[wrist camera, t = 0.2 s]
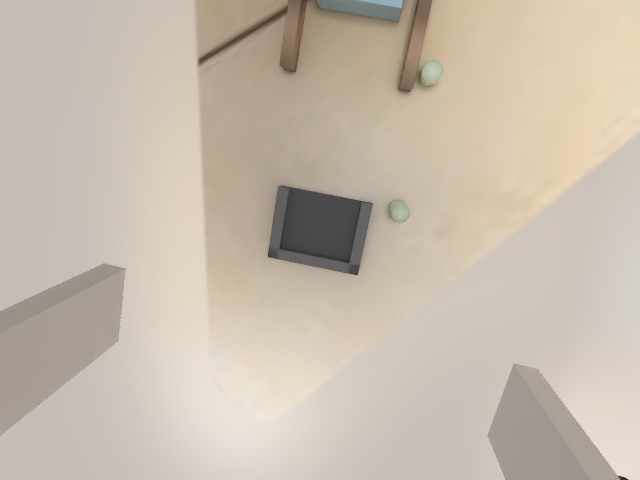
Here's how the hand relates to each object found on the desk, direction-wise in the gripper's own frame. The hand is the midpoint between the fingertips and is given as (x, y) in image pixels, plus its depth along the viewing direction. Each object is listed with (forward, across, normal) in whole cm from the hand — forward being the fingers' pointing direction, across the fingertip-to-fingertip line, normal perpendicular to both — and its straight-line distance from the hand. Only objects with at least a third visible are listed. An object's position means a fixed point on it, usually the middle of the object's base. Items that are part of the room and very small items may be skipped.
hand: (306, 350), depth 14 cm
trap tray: (+28, -2, -2) cm, 28 cm away
